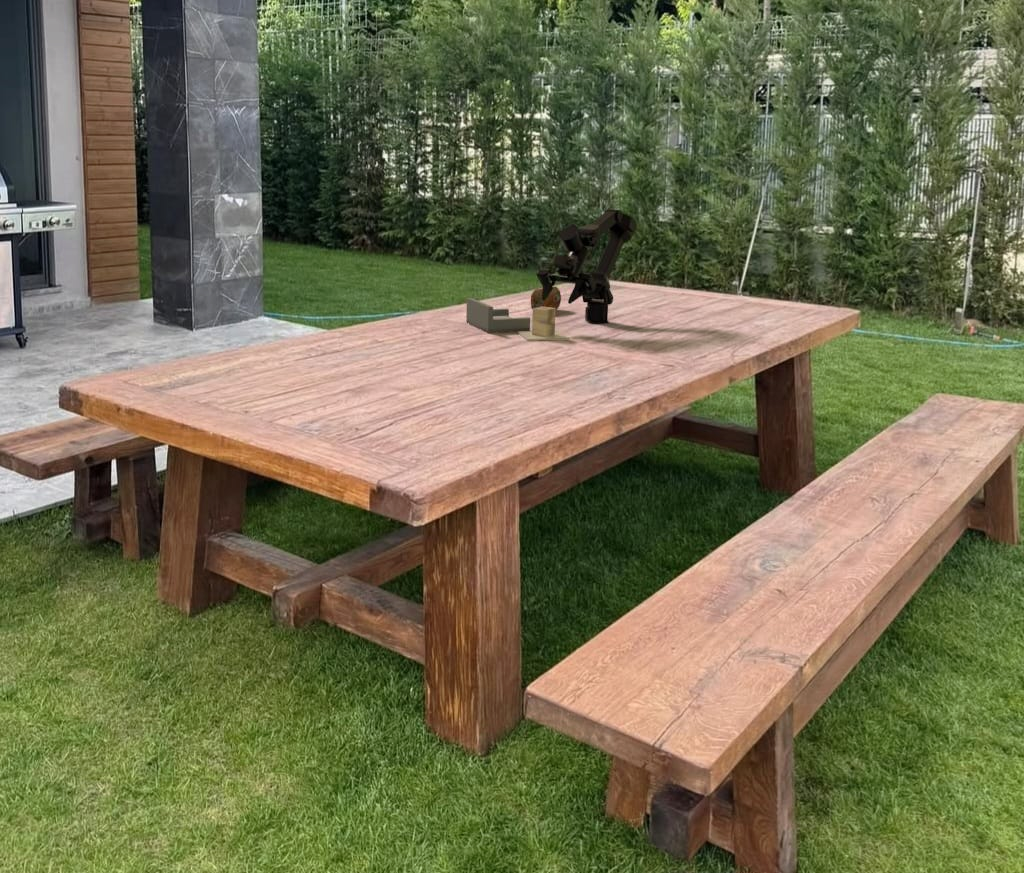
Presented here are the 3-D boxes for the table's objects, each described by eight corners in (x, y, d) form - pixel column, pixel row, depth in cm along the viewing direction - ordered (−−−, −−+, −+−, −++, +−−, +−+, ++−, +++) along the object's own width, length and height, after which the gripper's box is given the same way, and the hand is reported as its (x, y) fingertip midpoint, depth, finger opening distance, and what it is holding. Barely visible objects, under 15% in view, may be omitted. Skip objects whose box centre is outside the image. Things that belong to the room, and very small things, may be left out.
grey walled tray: (506, 320, 361) (507, 296, 359) (529, 330, 344) (530, 305, 342) (466, 322, 356) (466, 297, 354) (487, 333, 339) (488, 307, 336)
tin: (536, 314, 374) (536, 289, 372) (528, 313, 376) (529, 289, 374) (561, 309, 386) (562, 285, 384) (554, 308, 388) (554, 284, 385)
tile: (558, 332, 343) (558, 330, 342) (569, 340, 330) (569, 338, 330) (517, 333, 340) (517, 331, 340) (527, 341, 328) (527, 339, 327)
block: (540, 332, 338) (541, 306, 336) (554, 334, 336) (555, 308, 334) (531, 334, 334) (532, 308, 332) (546, 336, 332) (546, 310, 329)
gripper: (540, 242, 343) (520, 282, 337) (593, 247, 333) (573, 287, 327) (552, 265, 351) (533, 304, 345) (604, 270, 341) (585, 310, 336)
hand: (555, 301), depth 338 cm, fingers open, 9 cm apart
